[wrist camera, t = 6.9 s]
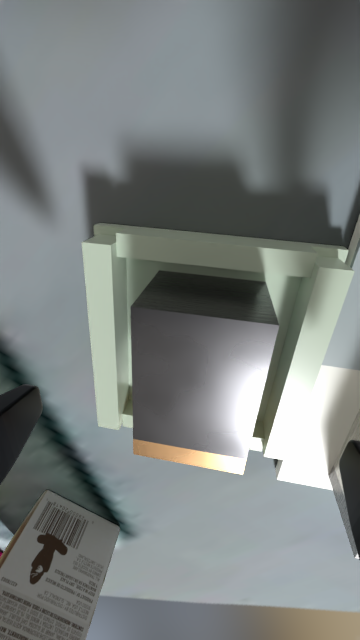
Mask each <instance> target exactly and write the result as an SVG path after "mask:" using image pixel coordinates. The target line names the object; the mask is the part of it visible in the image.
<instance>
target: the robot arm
mask: <svg viewBox="0 0 360 640" xmlns="http://www.w3.org/2000/svg"><path fill="white" fill-rule="evenodd" d="M42 408H43V406H42V401H41V396H40V391H39V388H38V387H37V386H33V385H27V384H24V385H21V386H19V387H17V388H15V389H12V390H10V391H8V392H6V393H4V394H2V395H0V484H1V483H2V481H3V480H4V478H5V477H6V475H7V474H8V472H9V471H10V469H11V468H12V466H13V464H14V463H15V461H16V460H17V458H18V456H19V454H20V453H21V451H22V449H23V447H24V445H25V443H26V441H27V439H28V438H29V436H30V434H31V432H32V430H33V428H34V426H35V424H36V423H37V421H38V419H39V417H40V415H41V413H42ZM339 469H340V474H341V480H342V485H343V490H344V496H345V501H346V506H347V512H348V517H349V522H350V527H351V531H352V535H353V538H354V542H355V545H356V549H357V552H358V556H359V559H360V441H358V440H350V441H349V442H348V443H347V445H346V447H345V450H344V452H343V454H342V456H341V458H340V461H339Z"/></svg>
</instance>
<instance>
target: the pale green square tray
mask: <svg viewBox="0 0 360 640" xmlns="http://www.w3.org/2000/svg"><path fill="white" fill-rule="evenodd" d="M93 227H94V237H92V238H90V239H88V240H86V241H83V242H82V251H83V262H84V273H85V285H86V296H87V307H88V318H89V329H90V340H91V351H92V362H93V373H94V384H95V396H96V407H97V418H98V426H99V427H105V428H110V429H116V430H119V429H120V427H121V425H122V422H123V427H129V428H133V404H132V356H131V309H130V307H131V305H132V304H133V303H134V302H135V300H136V299H137V298H138V297H139V295H140V294H141V293H142V291H143V290H144V289H145V288H146V286H147V285H148V284H149V283H150V281H151V280H152V279H153V278H154V276H155V275H156V274H157V272H158V271H159V270H161V271H171V272H180V273H189V274H198V275H208V276H217V277H226V278H235V279H244V280H254V281H263V282H266V284H267V287H268V291H269V294H270V297H271V300H272V303H273V307H274V310H275V313H276V316H277V319H278V323H279V329H278V333H277V337H276V341H275V345H274V349H273V353H272V357H271V361H270V366H269V370H268V374H267V378H266V382H265V386H264V390H263V394H262V398H261V402H260V406H259V410H258V414H257V418H256V422H255V427H254V431H253V435H252V439H251V443H250V447H249V449H250V450H256V451H262V448H263V454H264V457H269V458H274V459H280V460H285V461H288V459H289V456H290V453H291V450H292V447H293V444H294V442H295V439H296V436H297V433H298V430H299V427H300V425H301V422H302V419H303V416H304V413H305V410H306V408H307V405H308V402H309V399H310V396H311V394H312V391H313V388H314V385H315V382H316V379H317V377H318V374H319V371H320V368H321V365H322V362H323V360H324V357H325V354H326V351H327V348H328V345H329V343H330V340H331V337H332V334H333V331H334V328H335V326H336V323H337V320H338V317H339V314H340V311H341V309H342V306H343V303H344V300H345V297H346V294H347V292H348V289H349V286H350V283H351V280H352V278H353V275H354V272H355V271H354V270H353V269H352V268H350V267H349V266H348V265H346V264H345V261H346V258H347V255H348V252H349V250H348V249H346V248H345V247H343V246H335V245H324V244H314V243H303V242H293V241H283V240H272V239H262V238H252V237H241V236H231V235H221V234H210V233H200V232H189V231H179V230H169V229H158V228H148V227H138V226H127V225H117V224H106V223H98V224H95V225H93Z"/></svg>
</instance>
